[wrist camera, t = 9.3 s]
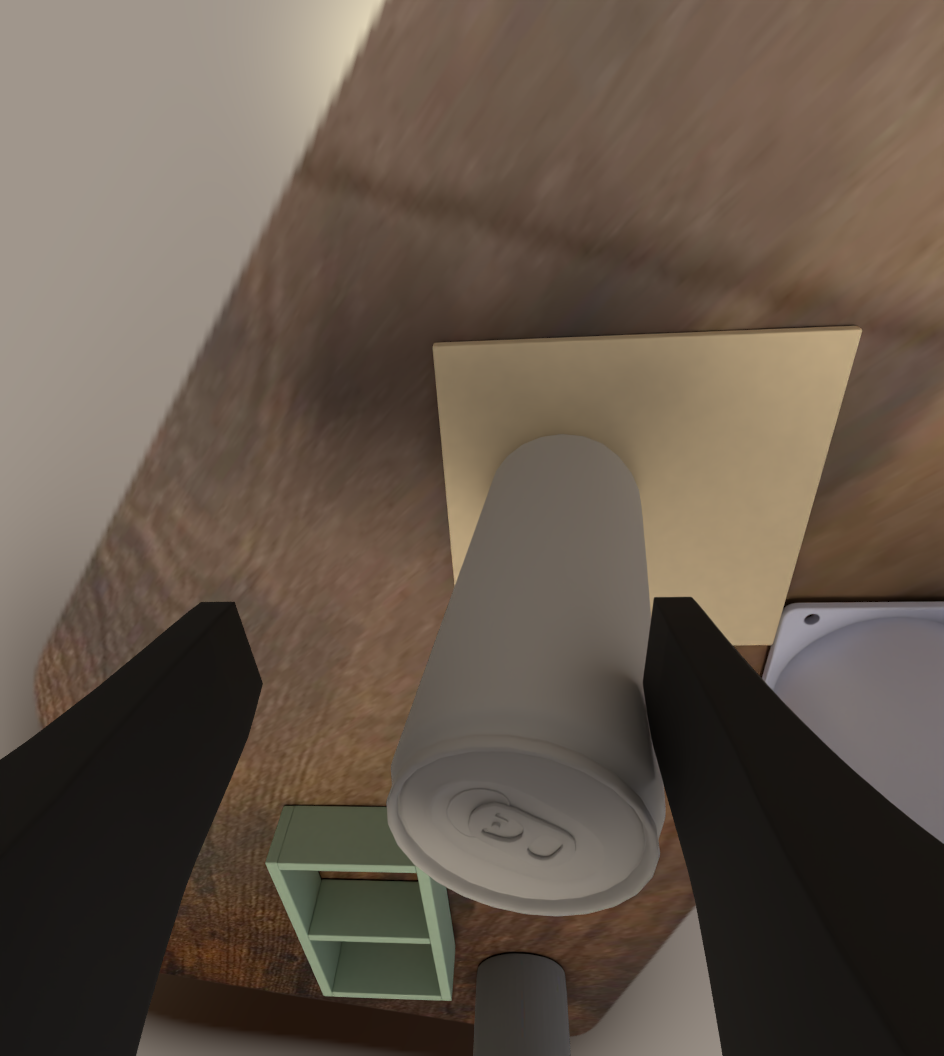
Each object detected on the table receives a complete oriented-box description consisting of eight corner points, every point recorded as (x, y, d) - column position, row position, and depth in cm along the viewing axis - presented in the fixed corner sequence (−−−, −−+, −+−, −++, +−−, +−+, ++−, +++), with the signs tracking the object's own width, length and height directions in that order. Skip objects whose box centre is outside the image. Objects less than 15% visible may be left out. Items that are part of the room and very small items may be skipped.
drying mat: (856, 325, 18) (863, 329, 17) (769, 638, 24) (773, 645, 24) (433, 342, 19) (432, 346, 18) (460, 640, 25) (459, 647, 25)
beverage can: (533, 399, 19) (441, 692, 9) (672, 470, 19) (735, 831, 9) (468, 518, 22) (342, 847, 12) (592, 579, 22) (574, 950, 12)
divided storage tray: (434, 807, 32) (427, 867, 29) (455, 945, 40) (451, 1001, 38) (283, 804, 32) (264, 863, 30) (335, 942, 41) (323, 996, 38)
